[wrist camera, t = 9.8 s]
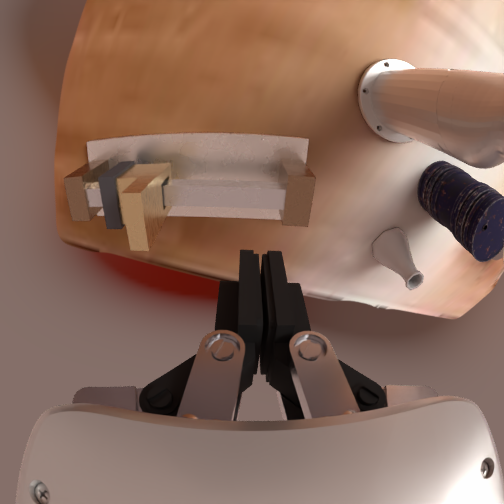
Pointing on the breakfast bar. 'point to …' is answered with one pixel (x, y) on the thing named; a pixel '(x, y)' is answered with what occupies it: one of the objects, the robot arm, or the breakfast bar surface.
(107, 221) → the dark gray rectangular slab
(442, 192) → the storage jar
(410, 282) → the flask
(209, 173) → the pipe rig
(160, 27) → the breakfast bar surface
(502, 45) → the breakfast bar surface
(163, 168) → the wooden block
